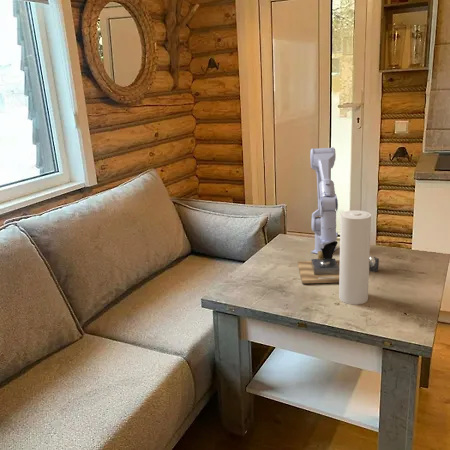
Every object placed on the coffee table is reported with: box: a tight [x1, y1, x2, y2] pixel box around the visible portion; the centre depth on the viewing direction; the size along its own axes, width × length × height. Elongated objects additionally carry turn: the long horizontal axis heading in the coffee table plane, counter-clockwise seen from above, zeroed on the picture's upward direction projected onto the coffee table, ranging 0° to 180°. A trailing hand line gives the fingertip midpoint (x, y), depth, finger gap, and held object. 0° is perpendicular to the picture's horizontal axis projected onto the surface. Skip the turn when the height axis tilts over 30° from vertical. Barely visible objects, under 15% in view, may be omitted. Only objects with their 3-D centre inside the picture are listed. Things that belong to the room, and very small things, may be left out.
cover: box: [310, 257, 339, 275], centre depth 172 cm, size 9×9×3 cm
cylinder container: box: [338, 209, 372, 306], centre depth 149 cm, size 9×9×30 cm
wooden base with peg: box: [297, 251, 340, 284], centre depth 172 cm, size 18×18×5 cm
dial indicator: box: [369, 255, 380, 273], centre depth 172 cm, size 3×4×6 cm
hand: (328, 259), depth 179 cm, fingers closed
